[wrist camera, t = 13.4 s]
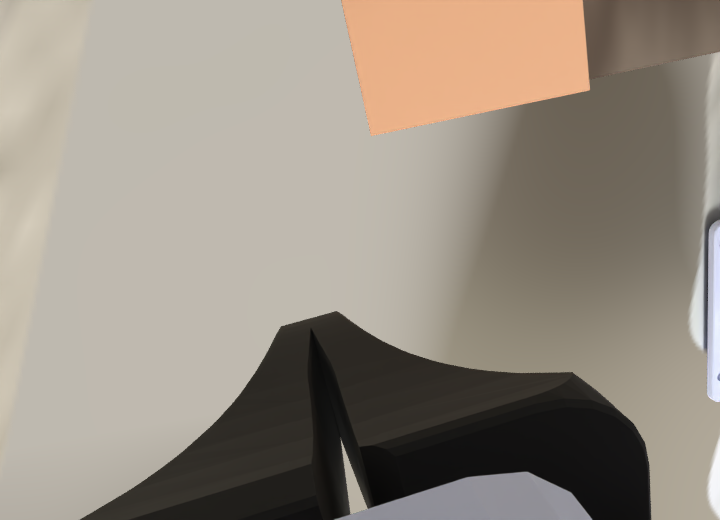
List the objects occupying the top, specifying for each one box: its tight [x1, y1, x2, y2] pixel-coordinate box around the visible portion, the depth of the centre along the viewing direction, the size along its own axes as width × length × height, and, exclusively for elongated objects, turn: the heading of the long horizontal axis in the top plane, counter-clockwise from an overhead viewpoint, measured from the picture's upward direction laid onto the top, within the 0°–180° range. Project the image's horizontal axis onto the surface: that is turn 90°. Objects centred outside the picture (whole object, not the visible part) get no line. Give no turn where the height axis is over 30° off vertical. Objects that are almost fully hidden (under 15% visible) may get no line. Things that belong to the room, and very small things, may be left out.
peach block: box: [341, 0, 590, 136], centre depth 17 cm, size 5×2×7 cm
